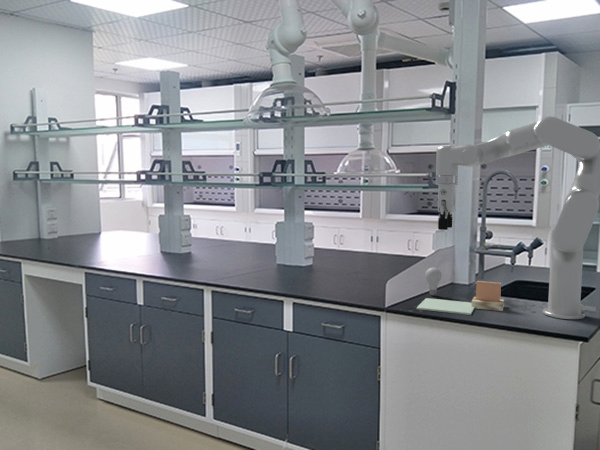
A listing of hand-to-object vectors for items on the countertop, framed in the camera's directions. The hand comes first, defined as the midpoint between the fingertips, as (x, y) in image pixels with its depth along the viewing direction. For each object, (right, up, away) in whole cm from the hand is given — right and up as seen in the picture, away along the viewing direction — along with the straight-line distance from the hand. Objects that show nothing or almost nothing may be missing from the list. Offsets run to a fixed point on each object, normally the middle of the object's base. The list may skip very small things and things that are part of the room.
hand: (445, 228), depth 193 cm
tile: (+14, -28, -4) cm, 31 cm away
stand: (+14, -28, -4) cm, 31 cm away
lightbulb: (-1, -26, +14) cm, 30 cm away
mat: (0, -28, -4) cm, 28 cm away
